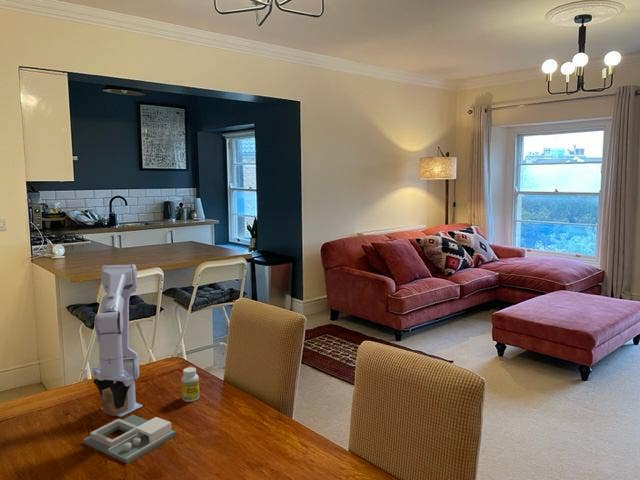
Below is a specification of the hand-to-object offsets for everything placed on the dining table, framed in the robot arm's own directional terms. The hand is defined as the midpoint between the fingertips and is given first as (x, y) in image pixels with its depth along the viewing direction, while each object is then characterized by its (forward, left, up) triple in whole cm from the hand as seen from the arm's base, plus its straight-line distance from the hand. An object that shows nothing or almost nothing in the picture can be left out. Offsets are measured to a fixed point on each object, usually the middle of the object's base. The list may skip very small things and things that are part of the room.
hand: (113, 404), depth 135 cm
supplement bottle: (-1, +28, -10) cm, 30 cm away
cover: (+9, +5, -9) cm, 13 cm away
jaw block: (0, 0, -2) cm, 2 cm away
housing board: (+3, +2, -10) cm, 11 cm away
